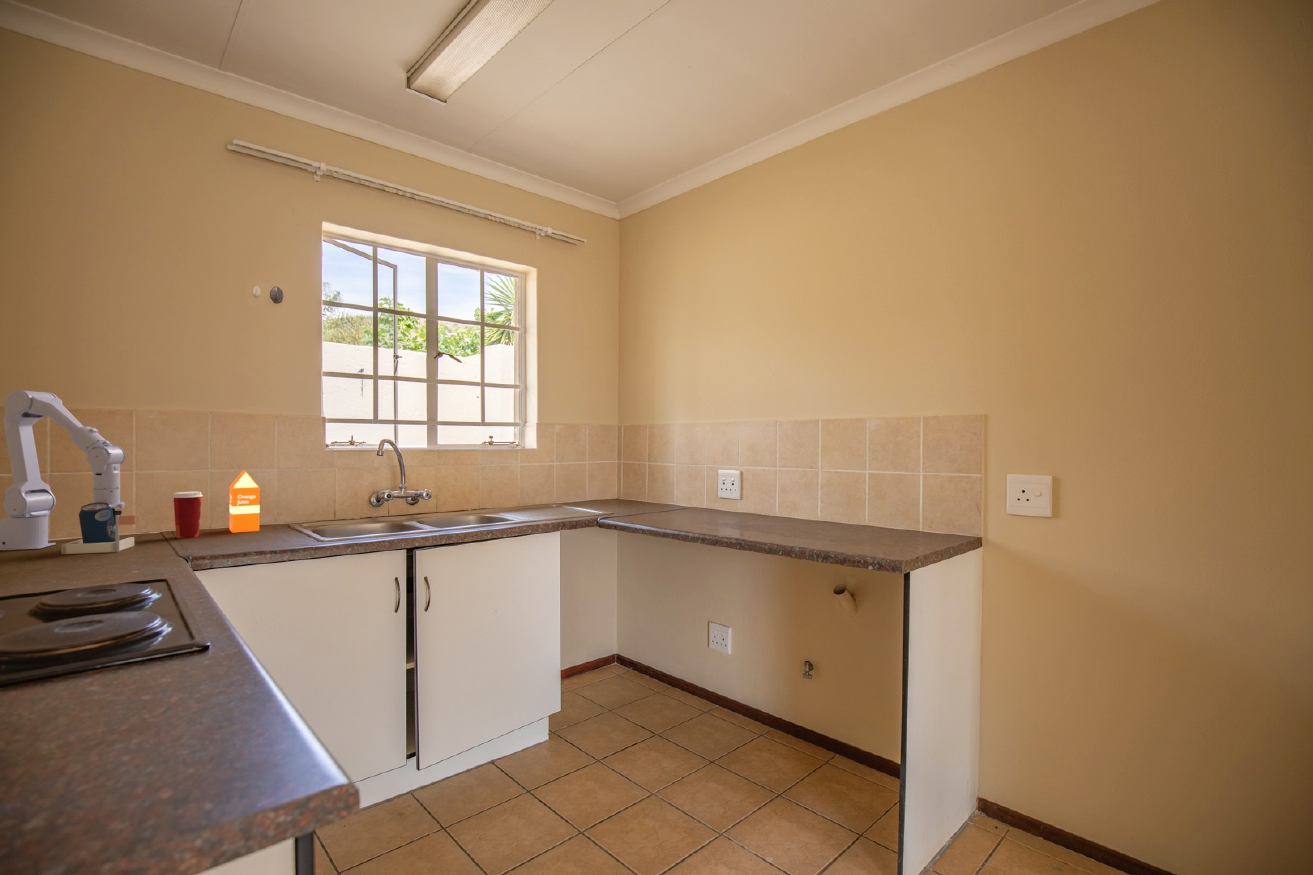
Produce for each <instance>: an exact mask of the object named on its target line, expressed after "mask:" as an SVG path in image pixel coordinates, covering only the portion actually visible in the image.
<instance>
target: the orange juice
mask: <svg viewBox="0 0 1313 875" xmlns="http://www.w3.org/2000/svg"><path fill="white" fill-rule="evenodd" d="M260 508H261V507H260V486H259V485H258V484H257V483H256V482H255V481H254V479H253V478H252V477H251V476H250V475H249V473H248V472H247V471H246V470H242V471H241V472H240V473H239V474H238V476H237V477H236V478H235V479H234V480H233V482H232V483H231V484H230V485H229V531H230V532H231V533H235V534H236V533H246V532H259V531H260V514H261V513H260V510H261V509H260Z"/></svg>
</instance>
